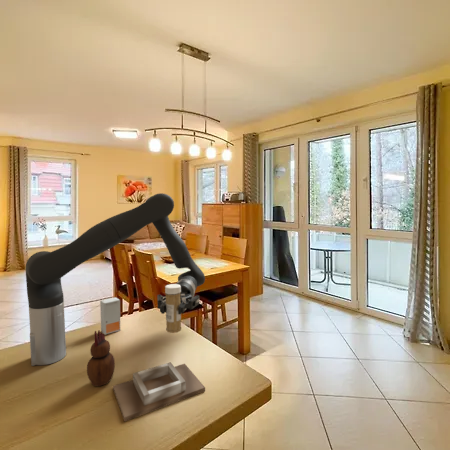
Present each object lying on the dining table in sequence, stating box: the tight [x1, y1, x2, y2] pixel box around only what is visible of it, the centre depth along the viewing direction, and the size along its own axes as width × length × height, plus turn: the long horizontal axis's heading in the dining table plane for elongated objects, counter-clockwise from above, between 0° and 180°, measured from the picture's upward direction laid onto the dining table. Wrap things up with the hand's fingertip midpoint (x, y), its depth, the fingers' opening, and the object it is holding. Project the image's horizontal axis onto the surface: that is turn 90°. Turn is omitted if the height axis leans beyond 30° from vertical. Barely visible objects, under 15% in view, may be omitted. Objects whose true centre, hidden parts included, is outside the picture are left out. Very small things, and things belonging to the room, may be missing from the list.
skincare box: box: [99, 296, 121, 336], centre depth 110 cm, size 6×4×12 cm
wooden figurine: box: [86, 329, 116, 387], centre depth 78 cm, size 7×6×15 cm
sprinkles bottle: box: [164, 283, 182, 334], centre depth 86 cm, size 5×5×13 cm
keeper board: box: [112, 362, 206, 422], centre depth 75 cm, size 20×13×4 cm, turn 121°
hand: (171, 310), depth 83 cm, fingers closed on sprinkles bottle, 4 cm apart
